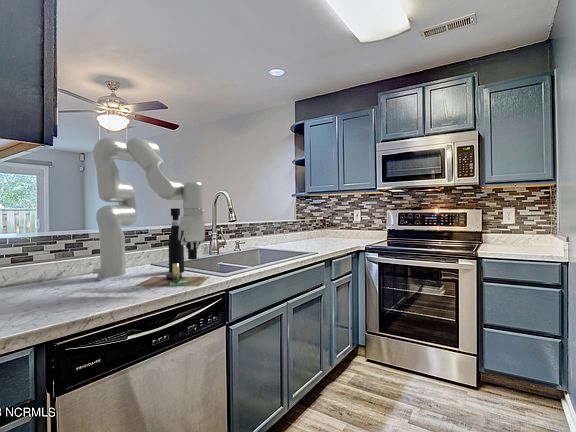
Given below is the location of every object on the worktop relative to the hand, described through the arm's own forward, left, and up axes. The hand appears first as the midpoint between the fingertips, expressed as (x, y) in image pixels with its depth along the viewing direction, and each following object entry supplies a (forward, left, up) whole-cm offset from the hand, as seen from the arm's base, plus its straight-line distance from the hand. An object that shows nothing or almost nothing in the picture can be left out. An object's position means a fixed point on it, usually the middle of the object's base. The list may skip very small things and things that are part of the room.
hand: (192, 258), depth 127 cm
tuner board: (-6, -3, -10) cm, 12 cm away
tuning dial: (-6, -3, -8) cm, 10 cm away
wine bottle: (-12, +15, -10) cm, 22 cm away
